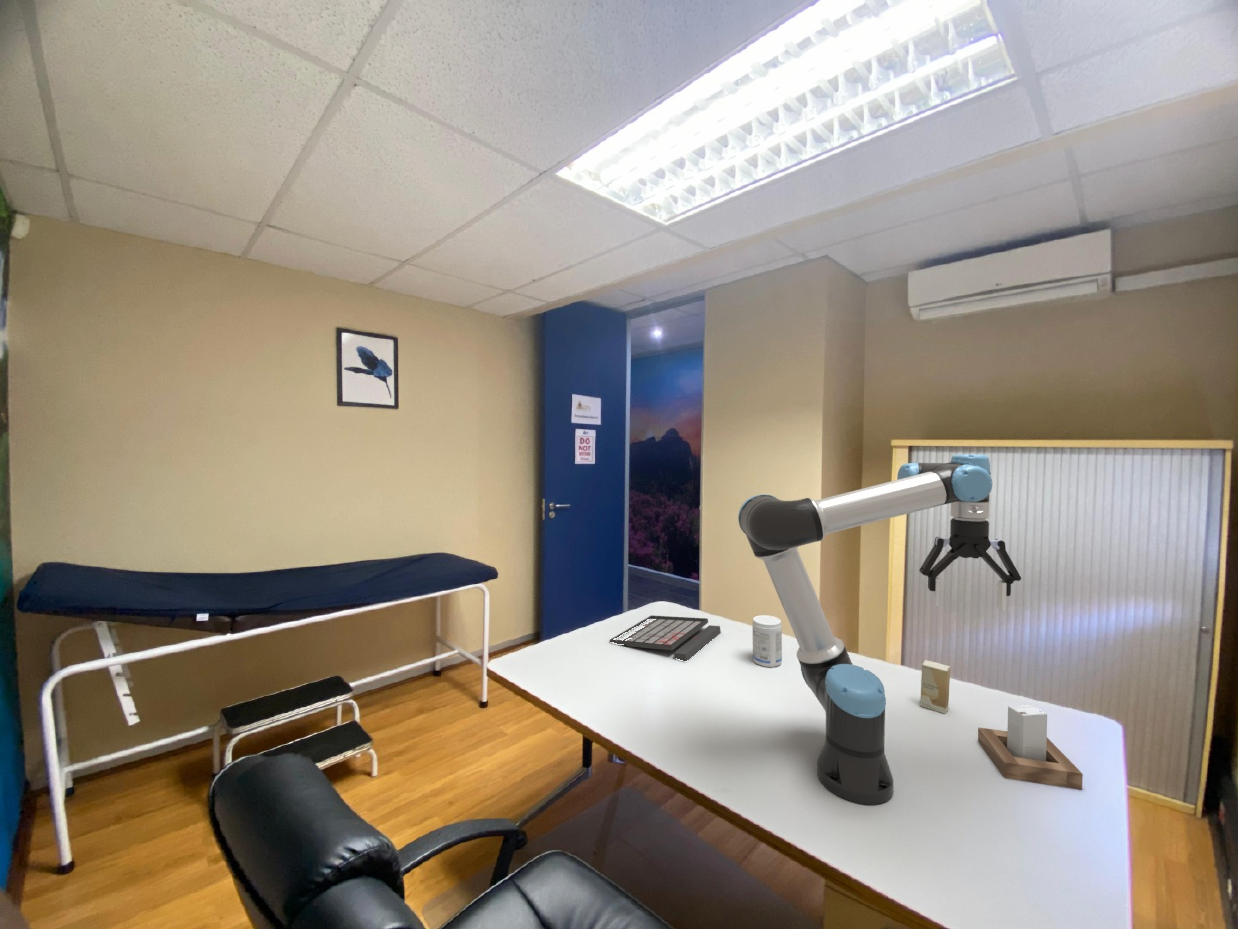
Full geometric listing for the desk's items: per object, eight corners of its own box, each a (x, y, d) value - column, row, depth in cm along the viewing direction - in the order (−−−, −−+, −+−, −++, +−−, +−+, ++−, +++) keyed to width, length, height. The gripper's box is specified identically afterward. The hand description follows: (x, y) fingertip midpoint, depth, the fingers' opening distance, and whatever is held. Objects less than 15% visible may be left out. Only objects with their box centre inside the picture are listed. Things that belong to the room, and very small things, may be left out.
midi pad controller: (612, 658, 185) (687, 667, 168) (609, 640, 185) (684, 647, 168) (652, 627, 212) (721, 632, 194) (650, 611, 212) (718, 615, 194)
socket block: (1004, 777, 108) (1004, 762, 108) (977, 741, 122) (978, 727, 121) (1082, 789, 104) (1082, 773, 104) (1045, 750, 118) (1046, 736, 118)
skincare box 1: (919, 706, 138) (920, 664, 138) (923, 700, 141) (923, 659, 141) (946, 715, 134) (947, 670, 133) (949, 708, 137) (950, 665, 136)
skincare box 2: (1029, 753, 115) (1030, 703, 115) (1047, 766, 111) (1048, 713, 110) (1005, 755, 115) (1006, 704, 114) (1022, 767, 110) (1023, 714, 110)
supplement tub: (772, 654, 173) (772, 613, 173) (787, 666, 164) (787, 623, 163) (747, 657, 171) (747, 616, 170) (761, 669, 162) (761, 625, 161)
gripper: (915, 519, 117) (914, 607, 118) (1040, 523, 110) (1038, 616, 111) (906, 515, 124) (905, 597, 125) (1023, 518, 117) (1021, 606, 118)
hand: (967, 606), depth 118 cm, fingers open, 13 cm apart
